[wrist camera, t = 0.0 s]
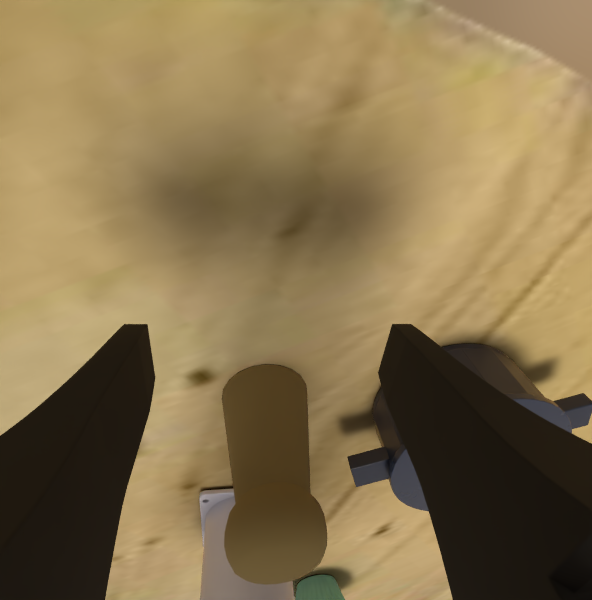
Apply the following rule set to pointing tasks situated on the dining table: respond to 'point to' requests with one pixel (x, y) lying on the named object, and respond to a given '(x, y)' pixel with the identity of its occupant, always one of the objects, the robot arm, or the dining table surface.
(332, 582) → the cupcake
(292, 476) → the cork
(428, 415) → the robot arm
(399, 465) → the lid
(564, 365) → the dining table surface
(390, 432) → the pot
